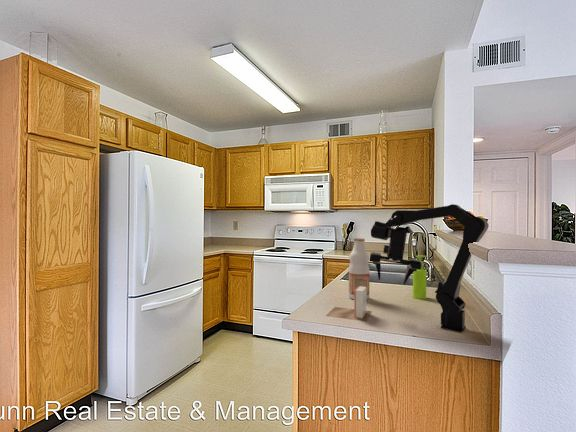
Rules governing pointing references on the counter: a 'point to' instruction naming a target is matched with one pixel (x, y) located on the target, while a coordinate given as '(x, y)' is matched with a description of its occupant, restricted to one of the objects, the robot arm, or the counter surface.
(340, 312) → the board
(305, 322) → the counter surface
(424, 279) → the soap dispenser
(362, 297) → the white box
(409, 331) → the counter surface
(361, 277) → the fruit juice
